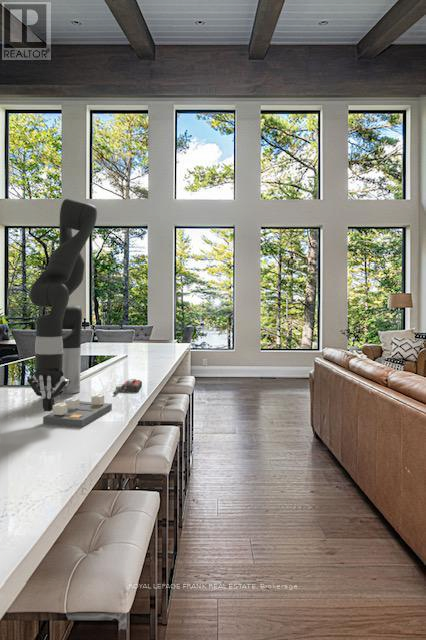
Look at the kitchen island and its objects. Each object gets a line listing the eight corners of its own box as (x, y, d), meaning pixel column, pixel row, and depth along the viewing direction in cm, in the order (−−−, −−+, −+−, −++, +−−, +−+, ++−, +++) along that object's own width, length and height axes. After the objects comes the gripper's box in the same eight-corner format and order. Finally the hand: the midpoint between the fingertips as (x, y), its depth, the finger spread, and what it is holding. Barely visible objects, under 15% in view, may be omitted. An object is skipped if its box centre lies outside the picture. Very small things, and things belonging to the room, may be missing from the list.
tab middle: (65, 408, 128) (65, 399, 128) (70, 406, 131) (70, 397, 131) (74, 409, 128) (74, 399, 127) (79, 406, 130) (79, 397, 130)
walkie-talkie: (121, 386, 177) (111, 397, 157) (122, 376, 177) (111, 385, 157) (142, 386, 177) (134, 397, 157) (143, 376, 177) (135, 385, 157)
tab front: (52, 414, 121) (52, 404, 121) (58, 411, 124) (58, 402, 124) (62, 415, 121) (62, 405, 121) (67, 412, 124) (67, 403, 123)
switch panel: (43, 423, 120) (43, 416, 120) (77, 407, 140) (77, 400, 140) (82, 427, 118) (82, 419, 118) (111, 409, 138) (111, 403, 138)
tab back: (91, 404, 134) (91, 395, 134) (95, 402, 137) (95, 393, 137) (100, 404, 134) (100, 396, 133) (104, 402, 136) (104, 394, 136)
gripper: (20, 352, 120) (20, 412, 120) (63, 354, 117) (62, 415, 118) (36, 349, 127) (35, 406, 128) (76, 351, 125) (75, 409, 125)
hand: (48, 410), depth 123 cm, fingers closed
